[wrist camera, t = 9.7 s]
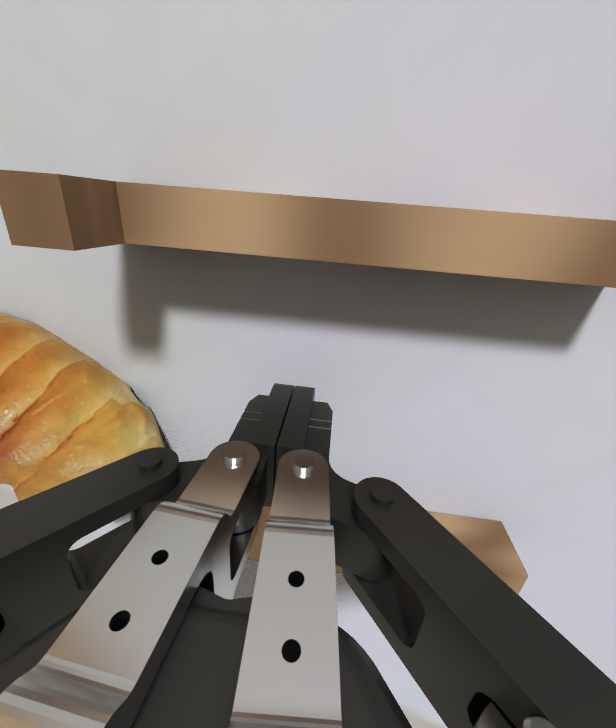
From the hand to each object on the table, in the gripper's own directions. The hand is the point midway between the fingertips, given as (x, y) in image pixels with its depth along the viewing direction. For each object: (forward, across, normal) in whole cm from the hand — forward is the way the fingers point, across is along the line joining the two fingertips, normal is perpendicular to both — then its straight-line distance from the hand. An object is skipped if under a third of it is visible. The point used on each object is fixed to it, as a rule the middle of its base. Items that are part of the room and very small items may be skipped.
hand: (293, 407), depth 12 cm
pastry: (+2, +10, +2) cm, 10 cm away
